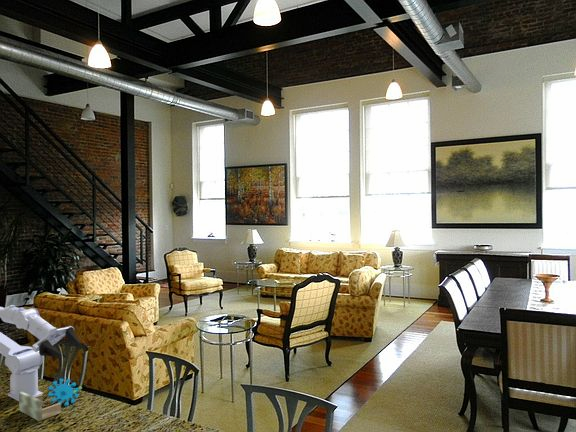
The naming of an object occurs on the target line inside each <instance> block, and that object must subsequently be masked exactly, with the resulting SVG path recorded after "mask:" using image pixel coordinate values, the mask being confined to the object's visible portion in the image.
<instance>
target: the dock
mask: <svg viewBox="0 0 576 432" xmlns="http://www.w3.org/2000/svg"><path fill="white" fill-rule="evenodd" d="M43 396H44V395H43V394H42V395H38V396H34V397H33V396H31V395H29V394H26V393H24V392H19V401H18V403H19V404H18V405H19V407H18V408H19V409H18V410H19V412H21V413H24V414H25V415H27V416H29V417H31V418H33V419H34V420H36V421H38V422H39V421H43V420H45V419H48V418H52V417H54V416H56V415H59V414H62V404H61V403H58V402H57V403H58V404H57V403H55V404H52V405H50V406H47V407H44V408H43V404H44V403H43V402H44V400H43Z"/></svg>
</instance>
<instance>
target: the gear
mask: <svg viewBox="0 0 576 432" xmlns="http://www.w3.org/2000/svg"><path fill="white" fill-rule="evenodd" d="M63 382H64V378H59V380H58V381H57V380H55V381H52V384H51V385H50V386H49V387H48V391H49V392H48V394H47V397H48V398H51V397H52V398H51V399H50V401H51V403H55V402H56V404H58V403H61V405H62V403H63V402H64V401H65V402H64V404H63V406H64V407H68V406H69V405H70V404H74V403H75V402H76V400H77V399H78V397H79V392H80V391H81V390H82V389H83V387H82V386H78V387H76V386H77V383H76V382H72V383H71V379H70V378H67V379H66V380H65V382H64V383H63ZM70 383H71V384H70ZM54 387H55V388H54ZM69 400H70V403H69Z"/></svg>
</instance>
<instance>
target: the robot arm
mask: <svg viewBox="0 0 576 432" xmlns="http://www.w3.org/2000/svg"><path fill="white" fill-rule="evenodd" d="M0 319H1V321H2V322H4V323H7V324H8V323H9V324H13V325H15V326H16V328H17V329H20V330H21V329H23V330H24V331H26V330H27V331H28V332H29V333H30V334H31V335H33V336H34V337H36V338H37V339H38V341H37V342H35V343H34V344H32V346H27V345H25V346H24V345H20V344H18V343H17V342H16V341H15V340H13V339H11V338H10V337H8V336H7V335H5V334H3V332H1V331H0V355H2V356H3V357H5V360H4V365H5V366H6V367H7V369H8V370H9V371H10V372H11V374H10V377H9V378H10V381H9V382H10V384H9V385H10V393H8V394H7V396H8V397H9V398H12V399H14V400H15V401H17V402H19V392H24V393H26V394H29V395H31V396H33V397H34V396H38V395H42V396H43V394H44V392H43V391H39V381H38V380H39V375H38V373H39V371H38V370H39V369H40V366H41V365H42V363H43V361H44V357H45V356H47V357H50V358H51V357H52V358H55V359H56V360H57V359H58V360H60V359H62V352H61V351H59V350H58V349H57V348H56V347H54V345H56V344H57V343H58V342H60V340H62V339H63V338H64V337H65V342H66V343H69V344H71V345H73V346H74V347H76V348H77V349H78V348H79V349H80V348H82V341H80V339H79V338H78V336H77V334H76V332H75V327H73V326H71V325H69V326H65V327H61V328H57V327H55V326H53V325H52V324H50V323H49V322H48V321H46V320H45V319H43V317H41V316H40V312H39V311H38V309H37V308H35V307H31V308H28V309H25V307H16V305H14V304H11V305H9V306H6V307H3V306H0Z"/></svg>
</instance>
